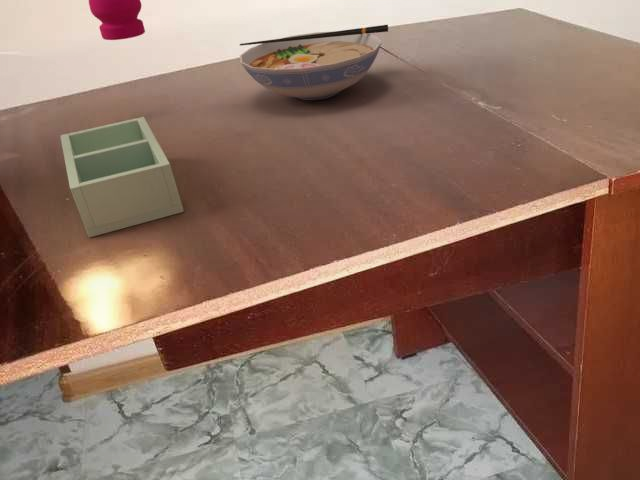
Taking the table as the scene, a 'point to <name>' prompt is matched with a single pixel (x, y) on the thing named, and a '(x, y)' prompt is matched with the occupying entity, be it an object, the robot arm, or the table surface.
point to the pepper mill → (118, 18)
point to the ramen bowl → (313, 61)
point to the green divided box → (119, 176)
